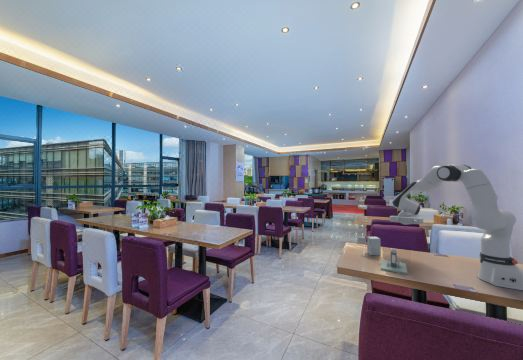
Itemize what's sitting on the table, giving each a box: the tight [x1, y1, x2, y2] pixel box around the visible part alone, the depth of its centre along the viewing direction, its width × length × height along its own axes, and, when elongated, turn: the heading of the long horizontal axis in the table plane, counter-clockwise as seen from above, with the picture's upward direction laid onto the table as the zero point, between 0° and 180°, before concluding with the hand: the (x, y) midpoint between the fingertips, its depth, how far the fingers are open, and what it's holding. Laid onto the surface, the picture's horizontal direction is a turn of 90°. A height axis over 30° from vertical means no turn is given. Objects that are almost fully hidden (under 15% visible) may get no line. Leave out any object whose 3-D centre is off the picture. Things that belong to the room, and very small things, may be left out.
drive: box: [390, 249, 398, 267], centre depth 143 cm, size 6×3×9 cm, turn 150°
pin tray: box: [380, 259, 409, 275], centre depth 143 cm, size 18×14×4 cm
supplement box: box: [366, 236, 382, 256], centre depth 170 cm, size 7×7×13 cm
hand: (406, 221), depth 153 cm, fingers open, 8 cm apart
